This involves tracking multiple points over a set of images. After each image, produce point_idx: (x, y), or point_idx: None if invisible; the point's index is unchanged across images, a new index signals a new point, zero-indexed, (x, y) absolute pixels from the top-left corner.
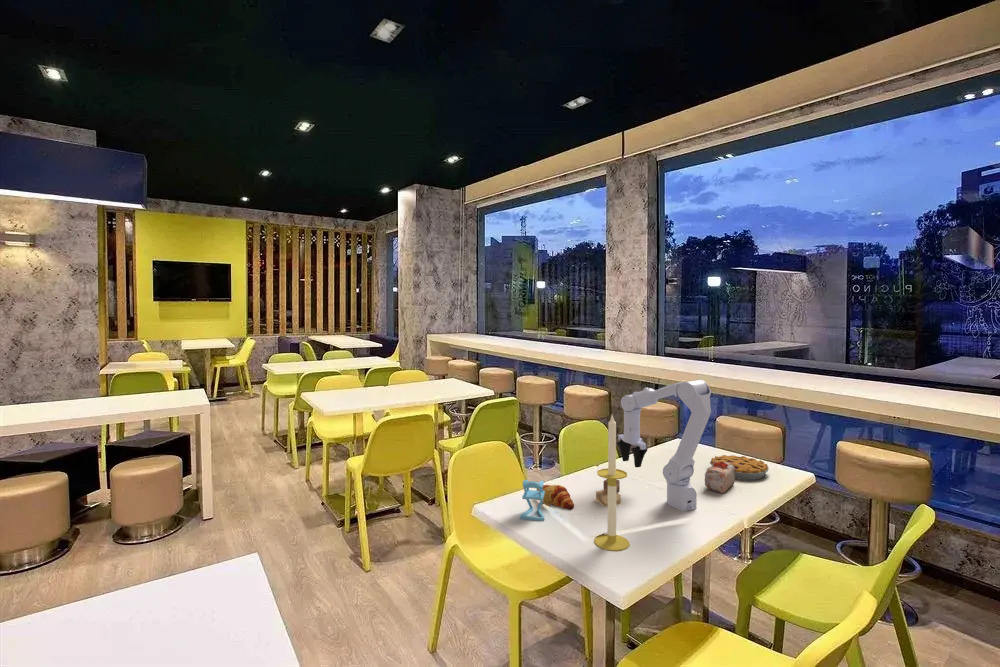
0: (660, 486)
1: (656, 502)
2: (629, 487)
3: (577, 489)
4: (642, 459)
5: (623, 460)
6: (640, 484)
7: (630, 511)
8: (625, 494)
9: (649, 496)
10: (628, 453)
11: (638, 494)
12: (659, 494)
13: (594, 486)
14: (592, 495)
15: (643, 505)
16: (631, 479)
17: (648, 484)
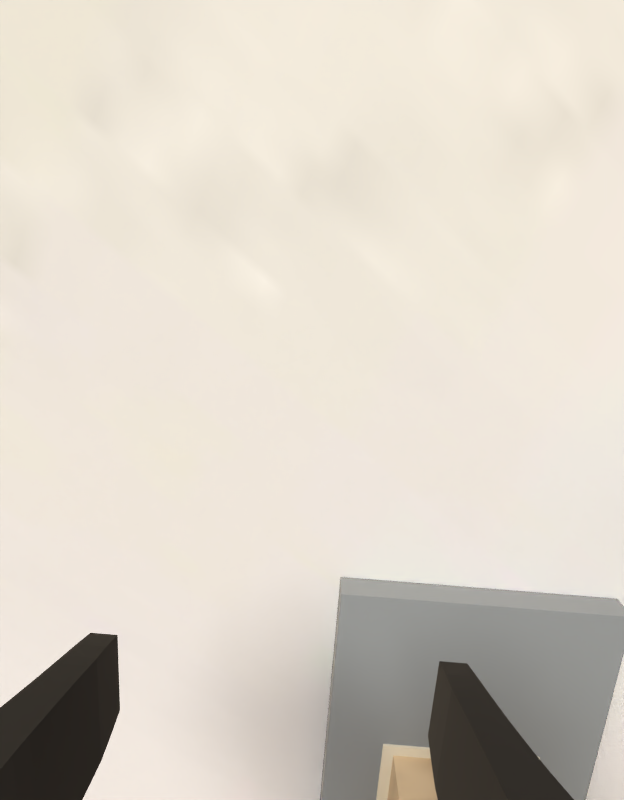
0: (302, 134)
1: (591, 462)
2: (203, 436)
3: (95, 790)
4: (547, 777)
5: (109, 725)
6: (174, 290)
7: (606, 727)
8: (327, 566)
9: (459, 424)
10: (41, 742)
11: (376, 476)
12: (467, 308)
13: None
14: (239, 769)
15: (578, 589)
16: (18, 276)
17: (204, 213)
